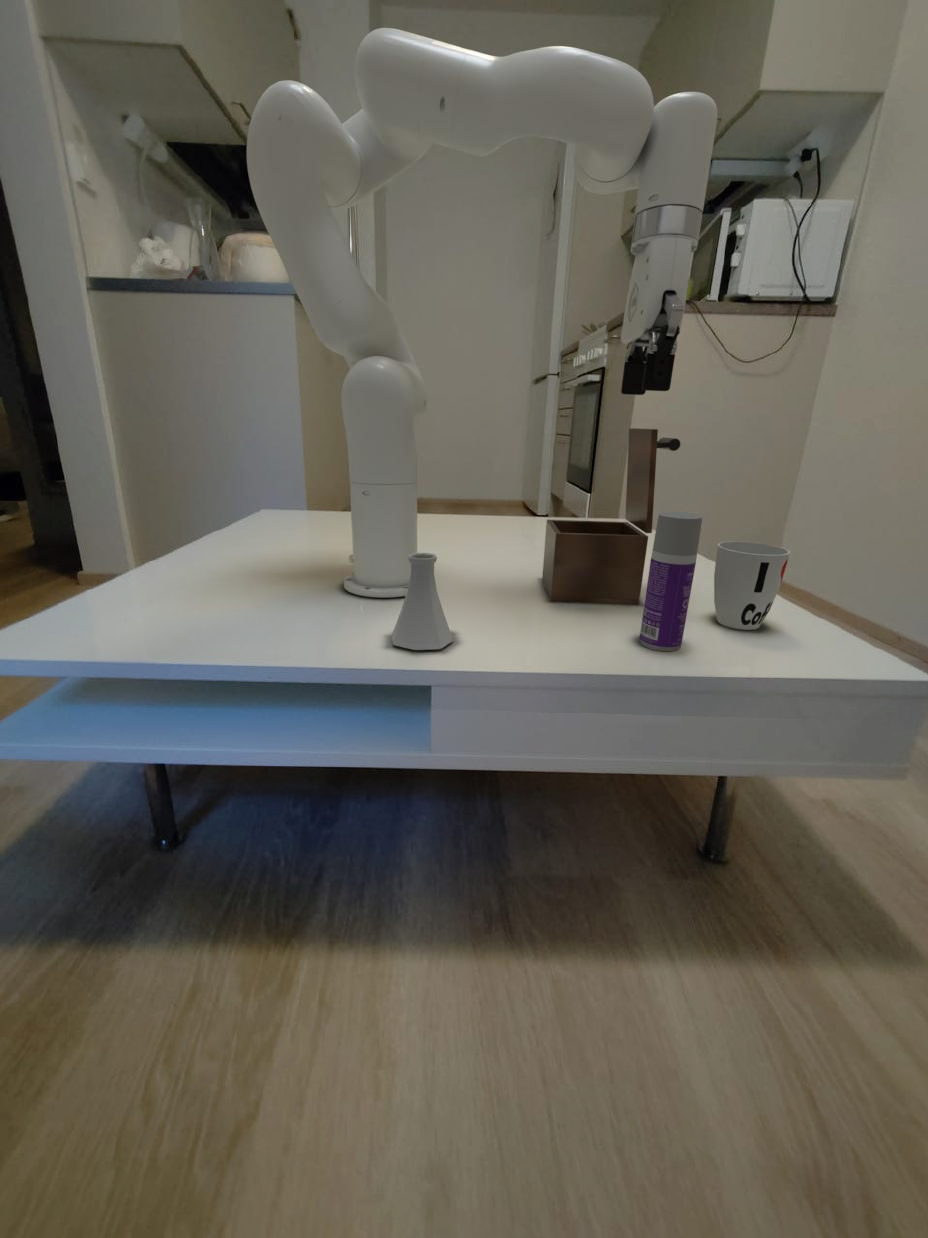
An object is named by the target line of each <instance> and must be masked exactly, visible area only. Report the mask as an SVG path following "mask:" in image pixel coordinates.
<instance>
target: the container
mask: <svg viewBox="0 0 928 1238" xmlns="http://www.w3.org/2000/svg"><path fill="white" fill-rule="evenodd" d="M702 522H703V516H702V515H700V514H695V513H688V512H681V511H680V512H679V511H663V512H659V513H658V517H657V522H656V528H655V534H654V540H653V545H652V551H651V557H650V563H649V569H648V570H649V571H648V576H647V584H646V592H645V597H644V604H643V610H642V611H643V612H642V619H641V624H640V625H641V626H640V631H639V641H638V642H639V643H640V645H642V646H643V647H645V648H647V649H650V650H653V651H659V652H676V651H679V650H681V648H682V644H683V639H684V632H685V628H686V622H687V621H686V620H687V615H688V609H689V604H690V598H691V593H692V588H693V587H692V586H693V582H694V576H695V569H696V565H697V557H698V550H699V543H700V536H701V531H702V524H703V523H702Z"/></svg>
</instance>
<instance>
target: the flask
mask: <svg viewBox="0 0 928 1238" xmlns="http://www.w3.org/2000/svg"><path fill="white" fill-rule="evenodd" d="M408 559H409V562H410V563H411V575H410V581H409V586H408V590H407V594H406V596H404V600H403V603H402V606H401V609H400V612H399V615H398V618H397V620H396V623H395V625H394V629H393V631H392V634H391V639H392V641H391V642H392V645H393V646H396V647H399V648H400V647H401V648H404V649H409V650H412V651H424V650H425V651H427V650H428V651H429V650H441V649H443V648H444V647H446V646H448V645H449V644H451V643H452V642H453V641H454V639H453V635H452V632H451V630H450V627H449V625H448V621H447V619H446V616H445V612H444V609H443V607H442V603H441V600H440V596H439V594H438V593H439V592H438V590H437V585H436V578H435V563H437V559H438V557H437V554H436V553H430V552H417V553H413V554H410V555H408Z"/></svg>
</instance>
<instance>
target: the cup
mask: <svg viewBox="0 0 928 1238" xmlns="http://www.w3.org/2000/svg"><path fill="white" fill-rule="evenodd" d="M790 555H791V551H790V550H789V549H787V548H784V547H782V546H776V545H773V544H767V543H760V542H753V541H752V542H750V541H722V542H719V543H718V544H717V547H716V555H715V564H714V572H713V573H714V575H713V581H714V582H713V592H714V593H713V603H714V609H715V616H716V622H718V624H720V625H721V626H725V627H727V628H731V629H735V630H745V631H751V630H757V629H759V628H760V627H761V625H762V623H763V622H764V621H765V619H766V617H767V616H768V614H769V612H770V611H771V608H772V606H773V605H774V601H775V599H776V597H777V594H778V592H779V589H780V588H781V584H782V581H783V579H784V576H785V571H786V568H787V565H788V563H789V562H788V561H789V558H790Z"/></svg>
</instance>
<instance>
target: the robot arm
mask: <svg viewBox="0 0 928 1238" xmlns="http://www.w3.org/2000/svg"><path fill="white" fill-rule="evenodd" d="M354 59H355V60H354V70H353V73H354V74H353V75H354V84H355V90H356V94H357V98H358V101H359V103H360V106H361V109H360V110H359V111H358V112H356V113H355V114H353V115H352V116H350V117H349V118H348V119H347V120H345V121H344V122H343V123H342V122H341V121H340V119H339V117H338V115H337V114H336V113H335V112H334V110H333V109H332V107H331V106H330V104H329V103H328V102H327V101H326V100H325V99H324V98H323V97H322V96H321V95H320V94H319V93H317V92H316V91H315V90H314V89H312V88H311V87H309V86H308V85H307V84H304V83H302V82H299V81H296V80H290V79H289V80H285V79H284V80H278V81H277V82H275V83H273V84H271V85H270V86H268V87H267V88H266V89H265V91H264V92H263V93H262V95H261V96H260V98H259V100H258V101H257V103H256V105H255V106H254V109H253V112H252V114H251V118H250V122H249V126H248V131H247V139H246V166H247V167H246V168H247V174H248V180H249V184H250V188H251V192H252V195H253V199H254V202H255V204H256V207H257V210H258V212H259V215H260V217H261V220H262V223H263V224H264V226H265V229H266V231H267V233H268V235H269V237H270V239H271V242H272V243H273V245H274V248H275V250H276V252H277V253H278V256H279V258H280V260H281V263H282V264H283V267H284V269H285V272H286V274H287V276H288V278H289V280H290V283H291V285H292V287H293V289H294V291H295V293H296V295H297V297H298V299H299V301H300V304H301V305H302V308H303V310H304V312H305V314H306V316H307V319H308V321H309V322H310V325H311V327H312V330H313V331H314V333H315V336H316V337H317V339H318V340H319V342H321V344H323V346H324V347H325V348H326V349H328V350H330V351H332V352H333V353H335V354H337V355H340V356H343V359H344V360H345V362H346V364H347V366H348V369H349V370H348V371H347V373H346V375H345V377H344V380H343V382H342V385H341V395H340V396H341V397H340V402H341V403H340V405H341V414H342V420H343V426H344V432H345V439H346V448H347V449H346V450H347V459H348V460H347V461H348V478H349V479H348V480H349V493H350V494H349V495H350V496H349V497H350V517H351V538H352V539H351V541H352V542H351V543H352V554H350V555H349V556H348V561H349V563H351V564H353V572H352V573H350V574H348V575H347V576H345V577H344V578H343V588H344V590H346V591H347V592H349V593H351V594H353V595H356V596H361V597H367V598H377V599H378V598H379V599H380V598H382V599H383V598H385V599H386V598H400V597H406V594H407V590H408V586H409V581H410V575H411V563H410V562H409V559H408V555H410V554H413V553H418V463H417V462H418V460H417V444H416V443H417V442H416V431H415V427H416V426H417V425H419V423H420V422H421V421H422V420H423V418H424V417H425V414H426V412H427V408H428V403H429V401H428V398H429V397H428V390H427V386H426V384H425V381H424V378H423V377H422V374H421V371H420V369H419V367H418V365H417V363H416V360H415V358H414V356H413V354H412V352H411V350H410V347H409V345H408V342H407V340H406V338H405V336H404V334H403V331H402V329H401V327H400V324H399V322H398V320H397V318H396V316H395V314H394V313H393V310H392V309H391V307H390V306H389V304H388V303H387V301H386V300H385V299H384V298H383V296H381V294H380V293H378V292H377V291H376V290H375V289H374V288H373V287H372V286H370V285H369V283H368V282H367V281H366V279H365V278H364V276H363V274H362V272H361V270H360V268H359V267H358V264H357V262H356V260H355V258H354V257H353V254H352V252H351V249H350V248H349V245H348V243H347V239H346V238H345V235H344V232H343V231H342V228H341V226H340V224H339V222H338V220H337V218H336V217H335V215H334V212H333V211H342V210H343V211H344V210H346V209H350V208H352V207H354V206H356V205H358V204H359V203H362V202H363V201H364V200H365V199H367V198H368V197H369V196H371V195H372V194H374V193H376V192H377V191H378V190H380V189H381V188H383V187H384V186H385V185H387V184H388V183H390V182H392V181H393V180H394V179H395V178H397V177H398V176H400V175H401V174H403V173H404V172H405V171H406V170H408V169H410V167H412V166H413V165H414V164H415V163H417V162H418V161H419V160H421V159H422V157H423V156H424V155H425V154H426V153H428V151H429V150H430V149H431V147H432V145H437V146H441V147H444V148H448V149H452V150H454V151H458V152H460V153H465V154H469V155H471V156H474V157H478V158H479V157H480V158H482V157H487V156H489V155H491V154H493V153H494V152H496V151H497V150H499V149H500V148H501V147H502V146H503V145H505V144H507V143H509V142H510V141H513V140H516V139H517V140H518V139H521V138H543V139H548V140H549V139H550V140H554V141H558V142H560V143H561V142H562V143H566V144H569V145H572V146H574V153H573V170H574V174H575V178H576V180H577V182H578V183H579V185H580V186H581V187H582V188H583V189H584V190H585V191H587V192H588V193H591V194H594V195H601V196H603V195H612V194H617V193H622V192H628V191H633V190H637V196H636V202H635V203H636V204H635V212H634V219H633V220H634V221H633V228H632V236H631V245H630V253H631V254H632V255H634V256H635V257H634V262H633V266H632V270H631V275H630V278H629V285H628V289H627V296H626V300H625V301H626V302H625V307H624V313H623V314H624V315H623V320H622V326H621V334H620V341H621V343H622V344H623V345H627V346H626V353H625V357H624V365H623V373H622V380H621V387H620V388H621V390H620V392H621V394H622V395H634V396H644V395H645V394H646V391H647V392H648V391H651V392H668V391H670V389H671V385H672V384H671V383H672V378H673V371H674V364H675V358H676V352H677V349H678V340H677V338H678V336H679V335H680V334H681V328H682V323H683V318H684V314H685V308H686V301H687V293H688V287H689V278H690V267H691V258H692V256H691V255H692V254H693V253H694V252H696V251H697V250H698V245H699V239H700V233H701V225H702V218H703V212H704V207H705V200H706V193H707V186H708V182H709V181H708V180H709V174H710V168H711V161H712V155H713V148H714V142H715V137H716V130H717V123H718V108H717V104H716V102H715V100H714V99H713V98H712V97H711V96H709V94H706V93H704V92H699V91H683V92H678V93H673V94H671V95H669V96H666V97H664V98H662V99H661V100H660V101H659V102H658V103H656V104H655V103H654V95H653V92H652V89H651V88H652V87H651V86H650V84H649V82H648V81H647V79H646V78H645V76H644V75H643V74H642V73H641V72H640V71H639V70H637V69H636V68H635V67H633V66H632V65H630V64H628V63H626V62H624V61H622V60H619V59H617V58H613V57H610V56H607V55H603V54H600V53H597V52H593V51H591V50H590V51H589V50H586V49H583V48H577V47H574V46H573V47H572V46H564V45H553V46H552V45H551V46H543V47H538V48H534V49H529V50H528V49H527V50H522V51H518V52H514V53H512V54H508V55H505V56H496V55H490V54H486V53H483V52H481V51H480V52H479V51H476V50H474V49H468V48H464V47H461V46H458V45H454V44H451V43H447V42H444V41H441V40H437V39H435V38H430V37H427V36H423V35H420V34H416V33H413V32H409V31H406V30H403V29H398V28H391V27H380V28H376V29H373V30H372V31H370V32H368V33H367V34H366V36H364V37H363V39H362V40H361V42H360V44H359V46H358V48H357V51H356V55H355V58H354Z"/></svg>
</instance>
